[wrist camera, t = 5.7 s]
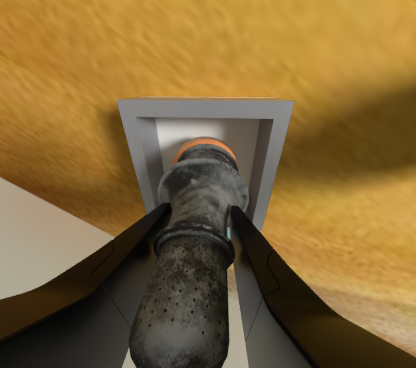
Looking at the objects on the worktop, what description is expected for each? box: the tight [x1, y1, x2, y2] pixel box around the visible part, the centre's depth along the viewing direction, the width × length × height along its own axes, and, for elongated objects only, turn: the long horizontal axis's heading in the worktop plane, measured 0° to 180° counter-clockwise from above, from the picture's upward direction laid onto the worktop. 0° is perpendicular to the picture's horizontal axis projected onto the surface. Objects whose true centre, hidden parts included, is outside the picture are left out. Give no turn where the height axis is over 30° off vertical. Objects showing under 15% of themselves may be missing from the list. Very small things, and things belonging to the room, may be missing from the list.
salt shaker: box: [129, 144, 249, 368], centre depth 8 cm, size 6×6×12 cm
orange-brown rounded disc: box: [172, 136, 238, 166], centre depth 14 cm, size 6×6×1 cm
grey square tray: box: [117, 96, 295, 230], centre depth 15 cm, size 11×11×4 cm
